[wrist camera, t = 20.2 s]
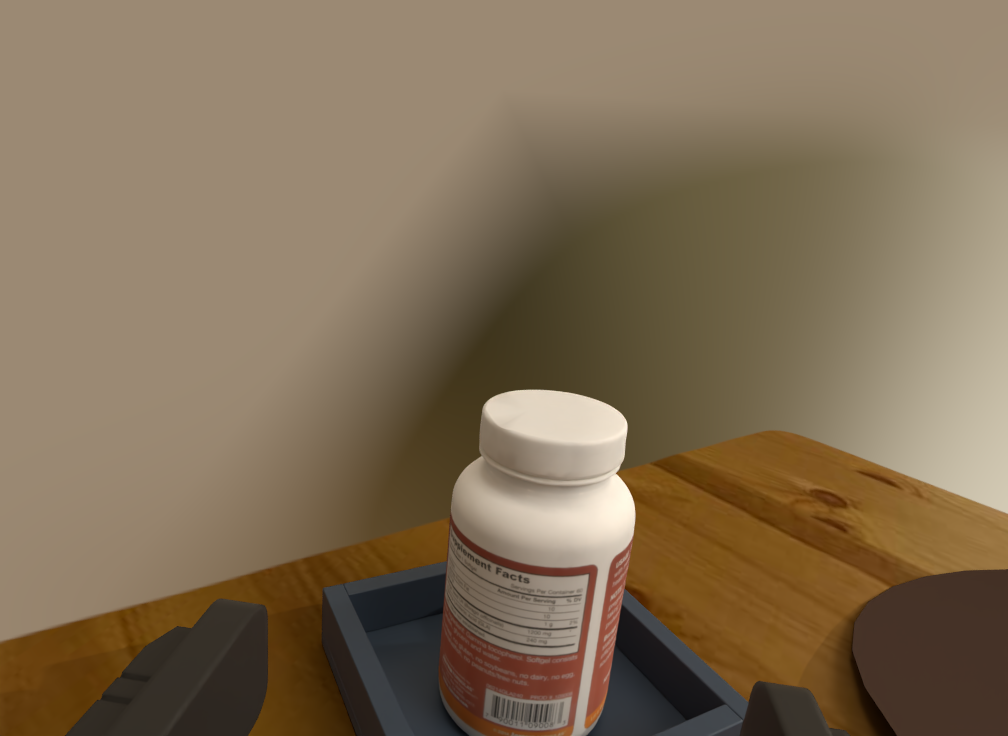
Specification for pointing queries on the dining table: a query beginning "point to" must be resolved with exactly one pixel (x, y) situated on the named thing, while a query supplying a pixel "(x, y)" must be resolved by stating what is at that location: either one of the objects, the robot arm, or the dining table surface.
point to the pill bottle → (536, 567)
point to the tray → (416, 651)
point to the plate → (938, 654)
